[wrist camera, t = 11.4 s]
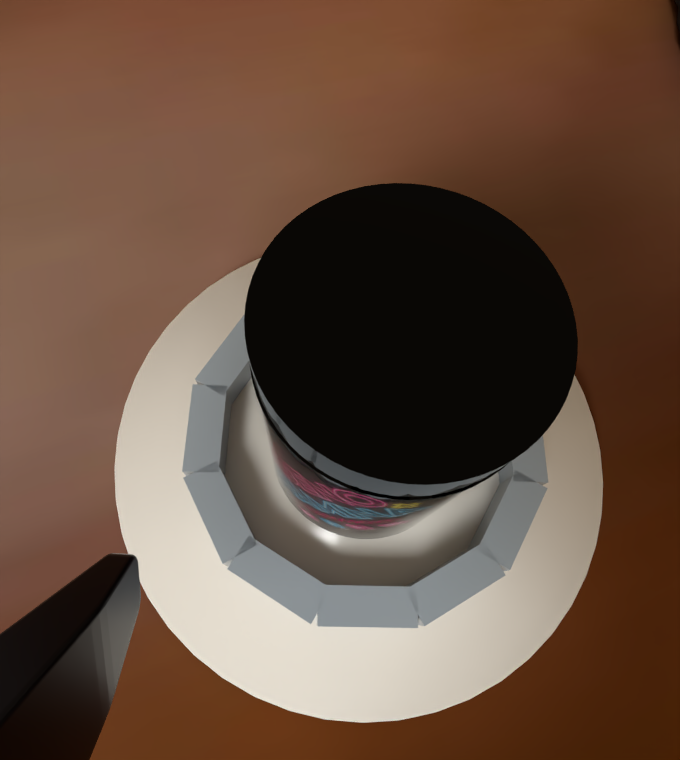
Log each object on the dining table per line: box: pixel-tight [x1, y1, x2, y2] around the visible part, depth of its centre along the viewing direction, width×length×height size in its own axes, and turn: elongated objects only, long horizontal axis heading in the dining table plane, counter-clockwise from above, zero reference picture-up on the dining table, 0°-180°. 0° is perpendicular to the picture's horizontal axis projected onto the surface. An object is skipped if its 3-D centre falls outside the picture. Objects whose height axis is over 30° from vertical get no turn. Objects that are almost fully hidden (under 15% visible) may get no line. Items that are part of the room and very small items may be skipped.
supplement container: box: [244, 183, 578, 539], centre depth 16 cm, size 7×7×10 cm
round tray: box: [115, 258, 603, 723], centre depth 21 cm, size 18×18×2 cm
